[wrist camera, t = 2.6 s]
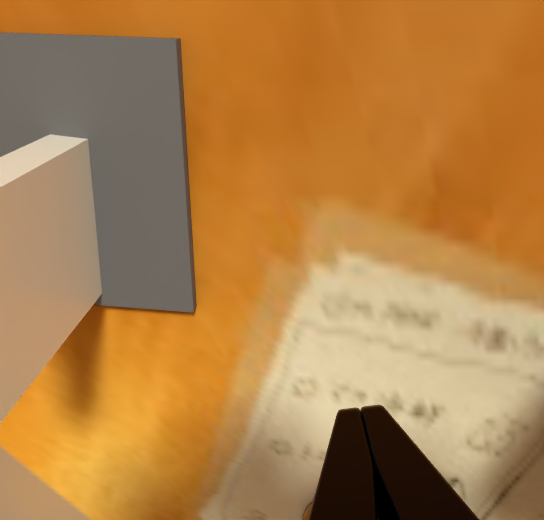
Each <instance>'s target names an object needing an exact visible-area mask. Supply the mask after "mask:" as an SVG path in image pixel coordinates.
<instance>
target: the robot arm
mask: <svg viewBox="0 0 544 520" xmlns="http://www.w3.org/2000/svg"><path fill="white" fill-rule="evenodd" d="M308 520H479V519H478V518H477V516H476V515H475V514H474V513H473V512H472V510H471V509H470V508H469V507H468V506H467V505H466V503H465V502H464V501H463V500H462V499H461V497H460V496H459V495H458V494H457V493H456V492H455V490H454V489H453V488H452V487H451V486H450V484H449V483H448V482H447V481H446V480H445V479H444V477H443V476H442V475H441V474H440V473H439V471H438V470H437V469H436V468H435V467H434V466H433V464H432V463H431V462H430V461H429V460H428V458H427V457H426V456H425V455H424V454H423V453H422V451H421V450H420V449H419V448H418V447H417V445H416V444H415V443H414V442H413V441H412V440H411V438H410V437H409V436H408V435H407V434H406V433H405V431H404V430H403V429H402V428H401V427H400V425H399V424H398V423H397V422H396V421H395V420H394V418H393V417H392V416H391V415H390V414H389V412H388V411H387V410H386V409H385V408H384V407H383V406H382V405H372V406H364V407H362V408H361V410H359V408H348V409H341V410H339V411H338V413H337V416H336V419H335V423H334V427H333V430H332V434H331V438H330V441H329V445H328V449H327V452H326V456H325V460H324V464H323V467H322V471H321V475H320V478H319V482H318V486H317V489H316V493H315V497H314V500H313V504H312V508H311V511H310V515H309V519H308Z"/></svg>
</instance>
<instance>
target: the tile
mask: <svg viewBox="0 0 544 520" xmlns="http://www.w3.org/2000/svg"><path fill="white" fill-rule="evenodd" d="M101 294H102V287H101V276H100V265H99V254H98V243H97V232H96V221H95V210H94V199H93V189H92V178H91V167H90V156H89V145H88V139H84V138H76V137H67V136H59V135H51V134H50V135H48V136H45V137H43V138H41V139H39V140H37V141H34V142H32V143H30V144H28V145H26V146H24V147H21V148H19V149H17V150H15V151H13V152H10V153H8V154H6V155H4V156H2V157H0V423H1V422H2V421H3V419H4V418H5V417H6V416H7V414H8V413H9V412H10V411H11V409H12V408H13V407H14V405H15V404H16V403H17V402H18V400H19V399H20V398H21V396H22V395H23V394H24V393H25V391H26V390H27V389H28V388H29V386H30V385H31V384H32V382H33V381H34V380H35V379H36V377H37V376H38V375H39V373H40V372H41V371H42V370H43V368H44V367H45V366H46V364H47V363H48V362H49V361H50V359H51V358H52V357H53V356H54V354H55V353H56V352H57V350H58V349H59V348H60V347H61V345H62V344H63V343H64V341H65V340H66V339H67V338H68V336H69V335H70V334H71V333H72V331H73V330H74V329H75V327H76V326H77V325H78V324H79V322H80V321H81V320H82V318H83V317H84V316H85V315H86V313H87V312H88V311H89V310H90V308H91V307H92V306H93V304H94V303H95V302H96V301H97V299H98V298H99V297H100V295H101Z"/></svg>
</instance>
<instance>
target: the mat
mask: <svg viewBox="0 0 544 520" xmlns="http://www.w3.org/2000/svg"><path fill="white" fill-rule="evenodd" d="M50 134H51V135H59V136H67V137H76V138H84V139H88V145H89V156H90V167H91V178H92V189H93V199H94V210H95V221H96V232H97V243H98V254H99V265H100V276H101V287H102V294H101V295H100V297H99V298H98V299H97V301H96V302H95V303H94V304H93V305H102V306H115V307H128V308H141V309H154V310H167V311H180V312H193V313H194V310H195V308H196V290H195V274H194V257H193V241H192V224H191V208H190V191H189V175H188V158H187V142H186V125H185V109H184V93H183V76H182V60H181V43H180V38H153V37H122V36H92V35H61V34H31V33H0V157H2V156H4V155H6V154H8V153H10V152H13V151H15V150H17V149H19V148H21V147H24V146H26V145H28V144H30V143H32V142H34V141H37V140H39V139H41V138H43V137H45V136H48V135H50Z"/></svg>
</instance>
